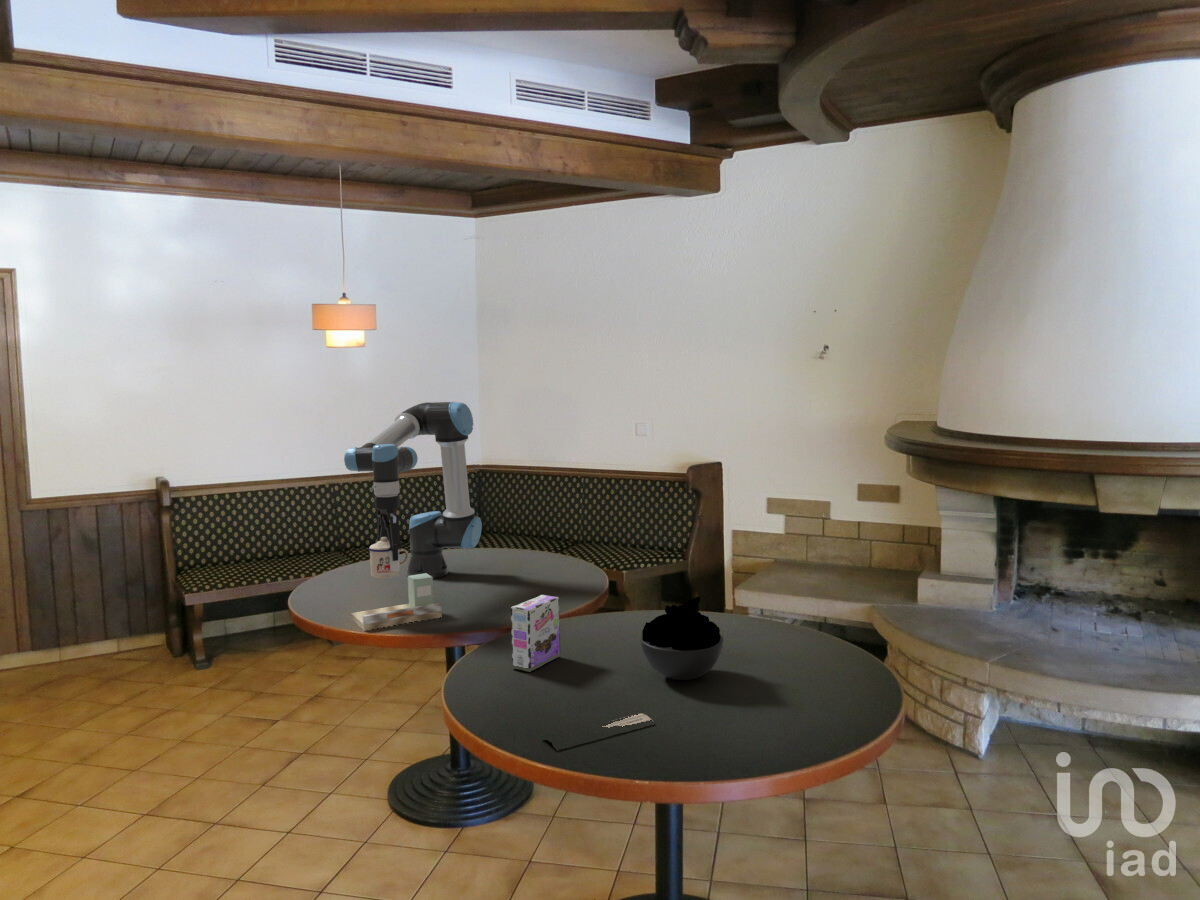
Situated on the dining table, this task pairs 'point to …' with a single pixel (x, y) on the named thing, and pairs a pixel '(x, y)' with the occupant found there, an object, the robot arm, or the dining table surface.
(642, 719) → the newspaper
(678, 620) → the bowl of black rocks
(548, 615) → the candy box
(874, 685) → the dining table surface
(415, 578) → the tin
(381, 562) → the teacup with lid
